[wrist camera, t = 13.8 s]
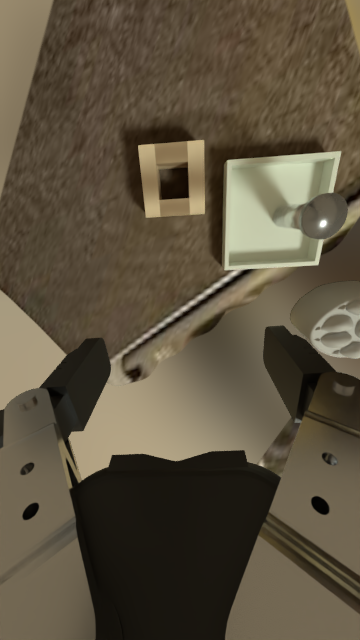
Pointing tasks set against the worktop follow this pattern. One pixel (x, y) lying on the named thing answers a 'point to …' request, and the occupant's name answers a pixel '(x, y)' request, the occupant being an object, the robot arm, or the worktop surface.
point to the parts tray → (271, 208)
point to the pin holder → (171, 158)
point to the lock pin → (314, 216)
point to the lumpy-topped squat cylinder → (331, 318)
